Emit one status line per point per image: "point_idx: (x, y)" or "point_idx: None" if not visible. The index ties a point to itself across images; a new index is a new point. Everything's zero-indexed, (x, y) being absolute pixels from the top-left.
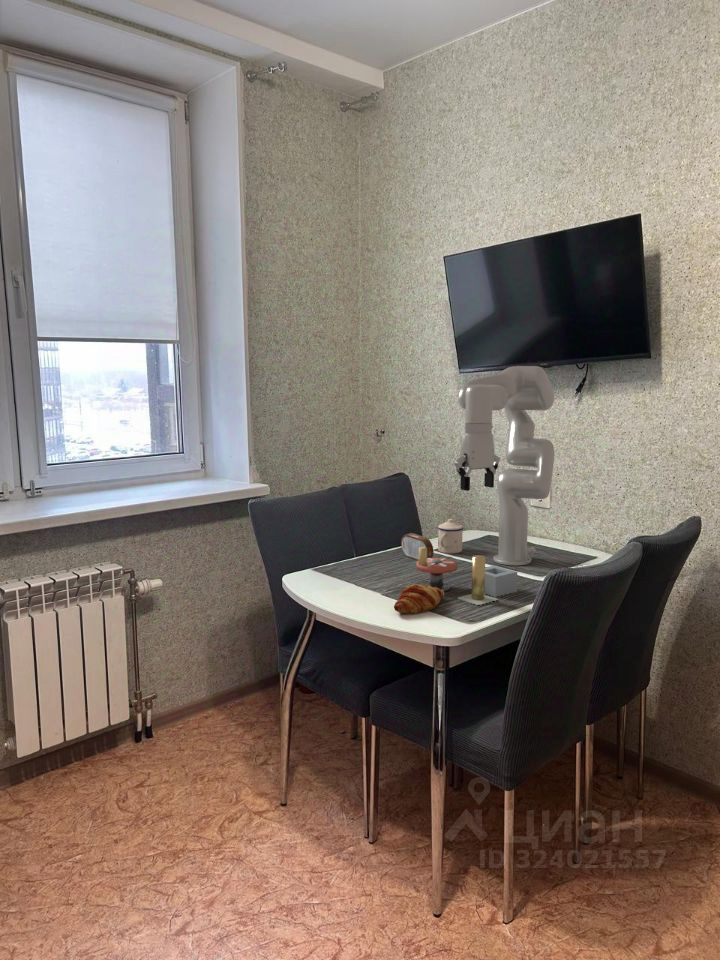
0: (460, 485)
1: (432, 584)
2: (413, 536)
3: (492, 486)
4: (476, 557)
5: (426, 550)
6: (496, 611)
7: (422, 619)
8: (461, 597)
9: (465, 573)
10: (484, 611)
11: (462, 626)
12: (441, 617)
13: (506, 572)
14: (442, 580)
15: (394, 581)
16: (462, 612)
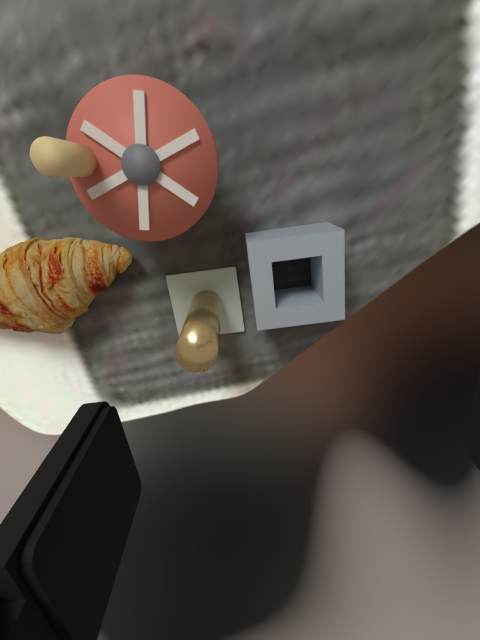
0: (64, 430)
1: None
2: None
3: (477, 461)
4: (183, 356)
5: (64, 175)
6: (195, 378)
7: (26, 349)
8: (174, 281)
9: (346, 59)
10: (173, 368)
11: None
12: (70, 357)
13: (315, 309)
14: None
15: (68, 9)
16: (126, 353)
